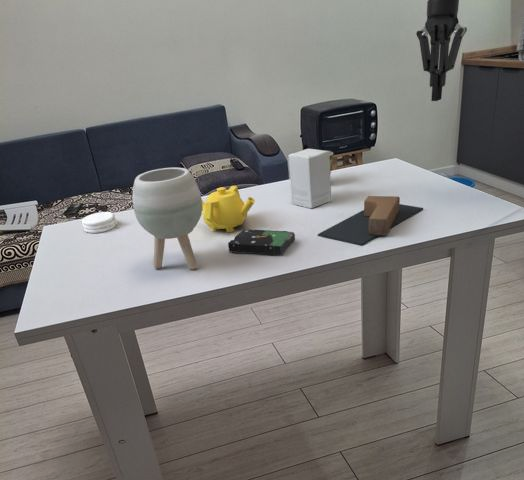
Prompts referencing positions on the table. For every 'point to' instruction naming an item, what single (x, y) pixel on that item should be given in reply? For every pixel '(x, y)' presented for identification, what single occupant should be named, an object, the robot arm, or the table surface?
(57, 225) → the table surface
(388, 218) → the wooden block
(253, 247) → the disk drive
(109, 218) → the coaster
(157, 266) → the planter
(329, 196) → the white product box
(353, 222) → the mat
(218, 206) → the teapot
